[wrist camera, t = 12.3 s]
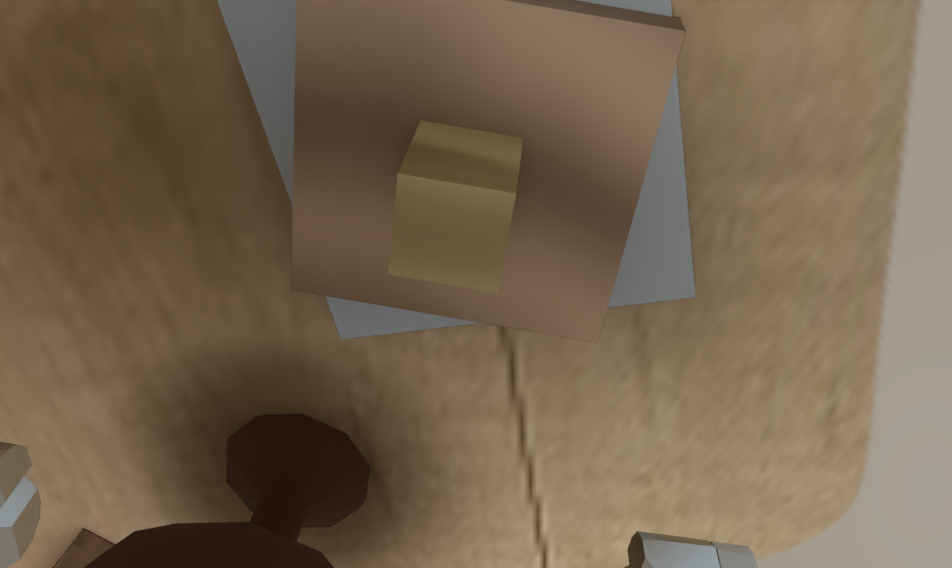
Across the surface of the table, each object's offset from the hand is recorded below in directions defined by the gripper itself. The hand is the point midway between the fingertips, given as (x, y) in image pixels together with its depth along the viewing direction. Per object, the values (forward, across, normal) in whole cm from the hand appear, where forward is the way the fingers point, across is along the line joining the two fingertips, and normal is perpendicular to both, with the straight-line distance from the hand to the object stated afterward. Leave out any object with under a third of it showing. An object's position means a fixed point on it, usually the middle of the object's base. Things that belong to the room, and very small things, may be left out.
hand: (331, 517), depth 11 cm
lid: (+13, -1, 0) cm, 13 cm away
